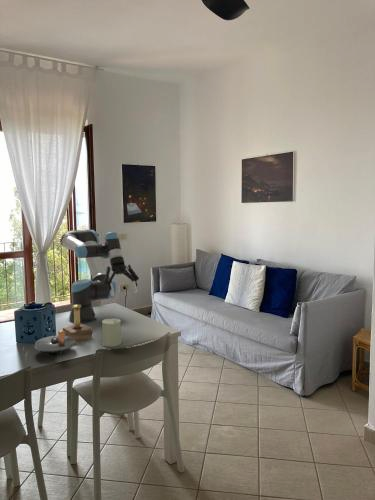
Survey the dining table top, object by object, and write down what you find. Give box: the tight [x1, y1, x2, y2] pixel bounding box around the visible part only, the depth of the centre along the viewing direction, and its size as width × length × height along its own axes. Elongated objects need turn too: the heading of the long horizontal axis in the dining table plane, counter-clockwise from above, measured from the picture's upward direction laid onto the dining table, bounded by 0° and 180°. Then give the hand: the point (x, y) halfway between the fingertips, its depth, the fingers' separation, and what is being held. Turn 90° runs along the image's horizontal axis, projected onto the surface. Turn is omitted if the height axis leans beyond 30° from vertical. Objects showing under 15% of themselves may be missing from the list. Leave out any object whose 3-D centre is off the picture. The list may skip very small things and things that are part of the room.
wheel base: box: [48, 351, 63, 355], centre depth 191 cm, size 6×6×3 cm
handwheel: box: [34, 329, 76, 353], centre depth 190 cm, size 18×18×8 cm
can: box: [101, 318, 122, 348], centre depth 202 cm, size 9×9×12 cm
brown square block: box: [62, 323, 93, 343], centre depth 211 cm, size 11×11×5 cm
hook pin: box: [71, 304, 81, 330], centre depth 210 cm, size 4×4×17 cm
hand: (124, 294), depth 221 cm, fingers open, 13 cm apart
